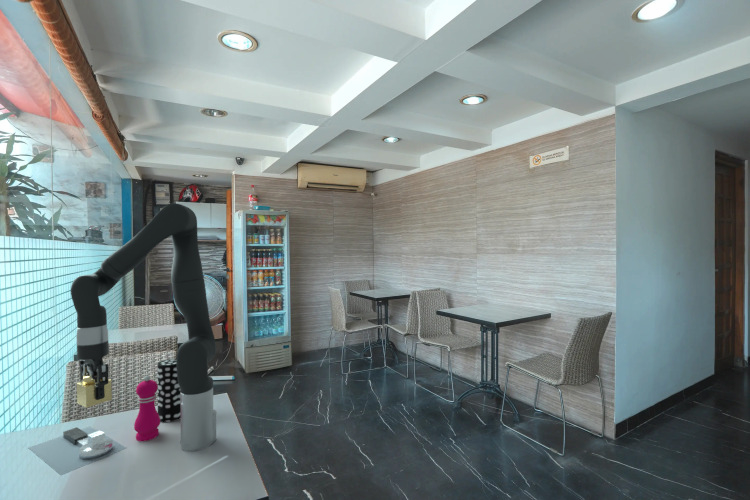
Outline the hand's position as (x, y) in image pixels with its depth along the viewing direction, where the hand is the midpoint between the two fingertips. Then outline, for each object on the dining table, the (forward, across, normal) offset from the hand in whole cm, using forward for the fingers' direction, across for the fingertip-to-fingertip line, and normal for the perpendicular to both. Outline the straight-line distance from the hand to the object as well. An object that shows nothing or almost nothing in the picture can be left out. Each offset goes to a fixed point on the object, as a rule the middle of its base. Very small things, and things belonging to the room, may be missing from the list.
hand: (94, 396), depth 110 cm
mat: (+17, +8, +2) cm, 19 cm away
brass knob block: (+1, 0, 0) cm, 1 cm away
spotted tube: (+17, +5, -25) cm, 31 cm away
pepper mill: (+17, -3, -13) cm, 22 cm away
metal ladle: (+17, +8, 0) cm, 18 cm away
